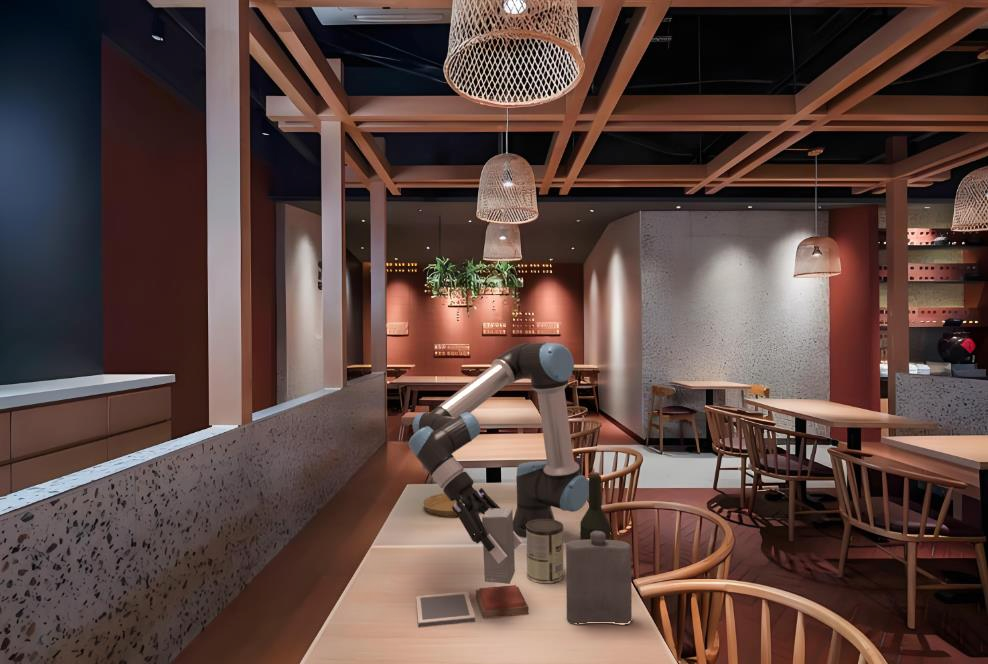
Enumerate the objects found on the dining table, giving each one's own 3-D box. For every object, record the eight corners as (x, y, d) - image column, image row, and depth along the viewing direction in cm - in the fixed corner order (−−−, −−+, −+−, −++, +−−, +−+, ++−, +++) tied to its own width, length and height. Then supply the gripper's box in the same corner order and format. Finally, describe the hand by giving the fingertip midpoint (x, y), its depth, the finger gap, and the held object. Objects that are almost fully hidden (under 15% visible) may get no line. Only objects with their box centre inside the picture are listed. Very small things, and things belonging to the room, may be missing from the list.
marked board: (467, 595, 140) (467, 591, 140) (474, 621, 127) (474, 617, 127) (416, 600, 137) (416, 596, 137) (418, 627, 124) (418, 622, 124)
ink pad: (518, 592, 141) (518, 583, 141) (528, 613, 130) (528, 603, 130) (475, 596, 139) (475, 587, 139) (482, 618, 128) (482, 608, 128)
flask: (628, 613, 130) (627, 528, 130) (633, 626, 124) (633, 537, 124) (565, 612, 131) (564, 528, 131) (567, 625, 125) (567, 537, 125)
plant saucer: (412, 516, 204) (412, 507, 204) (437, 497, 227) (437, 489, 227) (474, 522, 197) (473, 512, 197) (493, 502, 220) (493, 494, 220)
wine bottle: (605, 598, 137) (604, 478, 138) (574, 590, 142) (573, 474, 142) (616, 586, 144) (615, 472, 145) (587, 578, 149) (586, 468, 149)
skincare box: (510, 585, 129) (510, 518, 130) (480, 582, 131) (480, 516, 131) (516, 570, 138) (515, 507, 138) (488, 568, 139) (488, 505, 139)
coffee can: (531, 566, 157) (531, 516, 158) (567, 570, 154) (566, 520, 154) (521, 581, 148) (521, 528, 148) (559, 586, 144) (558, 532, 145)
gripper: (464, 479, 151) (517, 546, 144) (421, 500, 131) (481, 579, 124) (481, 461, 149) (536, 529, 142) (441, 480, 129) (503, 559, 122)
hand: (511, 552), depth 133 cm, fingers closed on skincare box, 9 cm apart
